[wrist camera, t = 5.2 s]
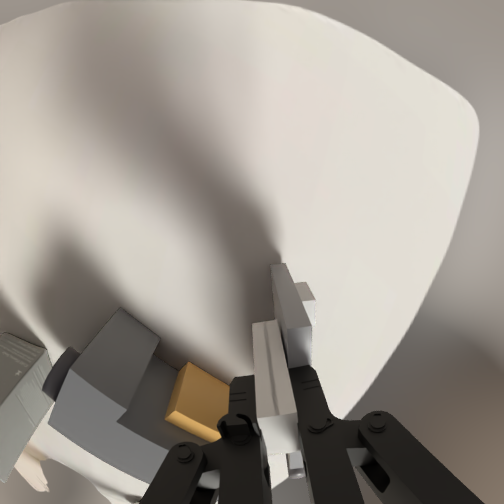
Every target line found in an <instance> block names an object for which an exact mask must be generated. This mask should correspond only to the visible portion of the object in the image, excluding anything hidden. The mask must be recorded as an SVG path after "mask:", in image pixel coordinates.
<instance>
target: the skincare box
mask: <svg viewBox="0 0 504 504" xmlns="http://www.w3.org/2000/svg"><path fill="white" fill-rule="evenodd" d="M51 369H52V365H51V363H50V360H49V357H48V353H47V350H46V349H44V348H41V347H38V346H35V345H33V344H30V343H28V342H26V341H24V340H22V339H19V338H17V337H15V336H13V335H11V334H8V333H6V332H4V333H3V334H2V335H1V336H0V480H1V481H2V482H4V483H6V481H7V479H8V477H9V474H10V473H11V471H12V469H13V467H14V465H15V464H16V462H17V460H18V458H19V457H20V455H21V453H22V451H23V450H24V448H25V446H26V445H27V443H28V441H29V440H30V438H31V436H32V435H33V433H34V432H35V430H36V428H37V427H38V425H39V424H40V422H41V421H42V419H43V418H44V416H45V415H46V413H47V412H48V410H49V409H50V407H51V406H52V404H53V403H54V401H53V400H52V399H51V398H50V397H48V396H47V395H46V394H45V393H44V392H43V391H42V387H43V384H44V382H45V380H46V378H47V376H48V374H49V372H50V371H51Z"/></svg>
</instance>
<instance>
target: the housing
mask: <svg viewBox="0 0 504 504" xmlns="http://www.w3.org/2000/svg"><path fill="white" fill-rule="evenodd" d="M159 340H160V337H159V336H157V335H156V334H155V333H153V332H152V331H150V330H149V329H148V328H146V327H145V326H144V325H142V324H141V323H140V322H138V321H137V320H136V319H134V318H133V317H132V316H131V315H129V314H128V313H127V312H126V311H124V310H123V309H122V308H121V307H120V308H119V309H118V310H117V312H116V313H115V314H114V315H113V316H112V317H111V319H110V320H109V321H108V322H107V323H106V324H105V326H104V327H103V328H102V329H101V330H100V332H99V333H98V334H97V335H96V336H95V338H94V339H93V340H92V341H91V342H90V344H89V345H88V346H87V347H86V349H85V350H84V351H83V352H82V354H80V353H79V352H77V351H76V350H75V349H74V348H73V347H69V348H68V349H67V350H66V351H65V352H64V353H63V354H62V355H61V356H60V358H59V359H58V360H57V362H56V363H55V364H54V366H53V367H52V369H51V371H50V372H49V374H48V376H47V378H46V380H45V382H44V384H43V387H42V391H43V392H44V393H45V394H46V395H47V396H48V397H50V398H51V399H52V400H53V401H55V405H54V408H53V410H52V413H51V416H50V418H49V421H48V424H49V425H50V426H52V427H53V428H54V429H56V430H57V431H58V432H60V433H61V434H62V435H64V436H65V437H66V438H68V439H69V440H71V441H72V442H74V443H75V444H77V445H78V446H80V447H81V448H83V449H84V450H86V451H87V452H89V453H91V454H92V455H94V456H96V457H97V458H99V459H101V460H102V461H104V462H106V463H108V464H109V465H111V466H113V467H115V468H117V469H119V470H121V471H123V472H125V473H127V474H129V475H131V476H133V477H135V478H137V479H139V480H141V481H143V482H146V483H148V484H151V482H152V480H153V478H154V477H155V475H156V473H157V471H158V470H159V468H160V466H161V464H162V462H163V461H164V459H165V457H166V455H167V453H168V452H169V450H170V449H171V448H172V447H173V446H174V445H176V444H178V443H181V442H193V443H196V444H198V445H199V446H202V445H205V444H209V443H212V442H214V441H217V440H218V439H220V438H221V435H220V433H219V431H218V429H217V423H218V421H219V420H220V419H221V418H222V416H224V415H226V414H228V406H229V389H230V386H229V385H227V384H225V383H223V382H222V381H220V380H218V379H216V378H215V377H213V376H211V375H210V374H208V373H206V372H205V371H203V370H202V369H200V368H198V367H197V366H195V365H194V364H192V363H190V362H188V363H187V364H186V365H185V366H184V367H183V368H182V369H181V370H180V371H177V370H176V369H174V368H173V367H171V366H169V365H168V364H166V363H165V362H163V361H162V360H160V359H159V358H157V357H156V356H155V355H153V353H154V351H155V348H156V346H157V344H158V342H159ZM286 459H287V467H288V474H289V478H292V479H297V478H301V477H304V476H305V471H304V469H303V468H296V469H290V466H289V459H288V453H286ZM218 496H219V495H218ZM217 501H218V498H217V500H216V502H217Z"/></svg>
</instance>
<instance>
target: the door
mask: <svg viewBox="0 0 504 504" xmlns="http://www.w3.org/2000/svg"><path fill="white" fill-rule="evenodd" d="M270 267H271V279H272V292H273V305H274V319H275V320H276V319H277V322H278V327H279V331H280V336H281V340H282V345H283V349H284V354H285V359H286V363H287V368H288V369H289V368H294V367H300V366H305V365H310V366H311V362H312V328H313V327H316V299H315V298H314V296H313V294H312V292H311V290H310V288H309V286H308V285H307V283H306V282H300V283H294V282H293V280H292V277H291V275H290V273H289V270H288V268H287V266H286V263H282V264H272V265H270ZM288 459H289V466H290V469H296V468H303V458H302V454H301V451H297V452H292V453H288Z"/></svg>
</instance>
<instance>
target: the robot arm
mask: <svg viewBox="0 0 504 504" xmlns="http://www.w3.org/2000/svg"><path fill="white" fill-rule="evenodd" d="M252 333H253V353H254V373H255V375H249V376H242V377H235V378H234V379H233V381H232V383H231V384H230V389H229V406H228V414H226V415H224V416H222V418H221V419H220V420H219V421H218V423H217V429H218V431H219V433H220V435H221V438H220V439H218V440H217V441H214V442H212V443H209V444H205V445H202V446H199V445H198V444H196V443H193V442H181V443H178V444H176V445H174V446H173V447H172V448H171V449H170V450H169V452H168V453H167V455H166V457H165V459H164V461H163V462H162V464H161V466H160V468H159V470H158V471H157V473H156V475H155V477H154V478H153V480H152V482H151V484H150V485H149V487H148V489H147V491H146V492H145V494H144V496H143V498H142V499H141V501H140V503H139V504H215V503H216V500H217V498H218V504H272V493H271V479H270V467H269V464H268V458H267V455H268V456H271V455H278V454H286V453H292V452H297V451H301V454H302V458H303V469H304V471H305V476H306V480H307V486H308V491H309V497H310V501H311V504H364V500H363V498H362V494H361V491H360V488H359V485H358V482H357V479H356V476H355V473H354V470H353V467H352V466H355V468H356V469H357V470H358V472H359V473H360V474H361V476H362V477H363V478H364V479H365V481H366V482H367V483H368V485H369V486H370V487H371V489H372V490H373V491H374V493H375V494H376V495H377V497H378V498H379V499H380V500H381V502H382V503H383V504H484V503H483V502H482V501H481V500H480V499H479V498H478V497H477V496H476V495H475V494H474V493H472V492H471V491H470V490H469V489H468V488H467V487H466V486H465V485H464V484H463V483H462V482H461V481H460V480H459V479H457V478H456V477H455V476H454V475H453V474H452V473H451V472H450V471H449V470H448V469H447V468H446V467H445V466H444V465H443V464H442V463H441V462H440V461H439V460H438V459H436V458H435V457H434V456H433V455H432V454H431V453H430V452H429V451H428V450H427V449H426V448H425V447H424V446H423V445H422V444H421V443H420V442H419V441H418V440H417V439H416V438H415V437H414V436H413V435H412V434H411V433H410V432H409V431H408V430H407V429H405V427H403V425H402V424H401V423H400V422H399V421H397V419H396V418H394V417H393V416H392V415H391V414H389V413H388V412H384V411H373V412H371V413H368V414H367V415H365V416H364V417H363V418H362V419H361V420H355V421H354V420H353V421H348V420H341V419H338V418H336V417H335V416H333V415H332V414H331V412H330V410H329V408H328V405H327V402H326V399H325V396H324V393H323V390H322V387H321V384H320V381H319V378H318V376H317V373H316V370H314V369H313V368H312V367H311V366H310V365H305V366H300V367H294V368H289V369H288V368H287V363H286V359H285V354H284V349H283V345H282V340H281V336H280V331H279V327H278V322H277V319H276V320H271V321H265V322H259V323H253V324H252ZM218 495H219V496H218Z"/></svg>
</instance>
